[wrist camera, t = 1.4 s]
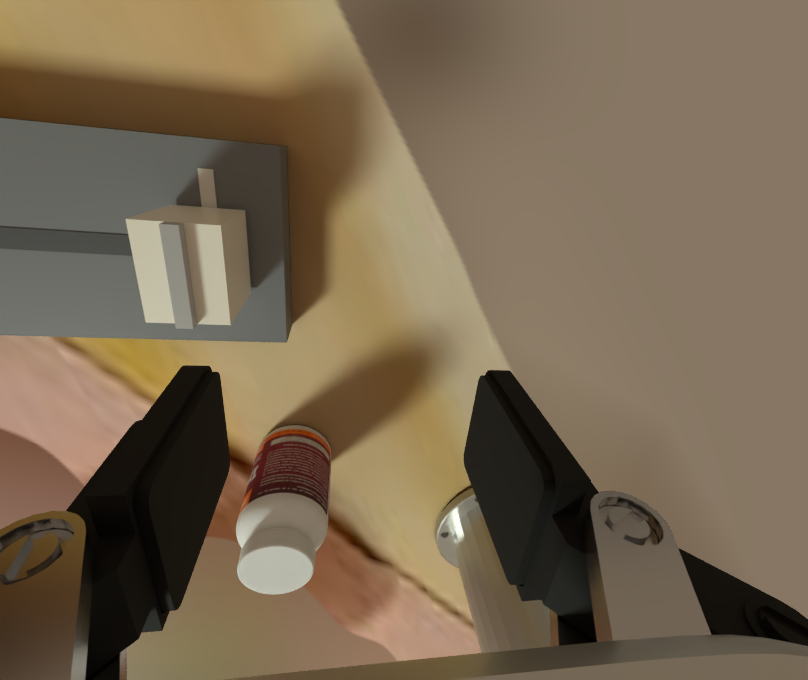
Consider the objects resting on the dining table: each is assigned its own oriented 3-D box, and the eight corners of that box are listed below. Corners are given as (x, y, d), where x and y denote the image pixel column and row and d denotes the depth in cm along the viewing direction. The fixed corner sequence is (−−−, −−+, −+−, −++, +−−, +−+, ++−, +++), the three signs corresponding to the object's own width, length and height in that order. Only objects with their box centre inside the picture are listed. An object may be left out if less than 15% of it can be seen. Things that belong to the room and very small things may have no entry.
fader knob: (245, 210, 23) (216, 227, 18) (251, 293, 25) (227, 329, 20) (169, 204, 22) (118, 221, 17) (182, 290, 24) (140, 327, 19)
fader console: (287, 146, 25) (279, 146, 22) (292, 324, 30) (286, 342, 27) (-143, 103, 21) (-215, 96, 18) (-54, 313, 26) (-100, 333, 23)
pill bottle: (250, 427, 33) (210, 545, 23) (325, 417, 34) (317, 528, 24) (267, 482, 36) (237, 609, 26) (336, 472, 36) (332, 592, 27)
